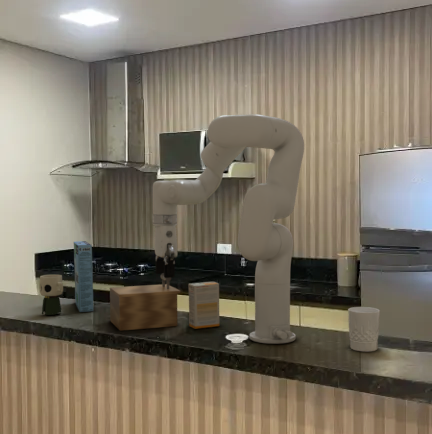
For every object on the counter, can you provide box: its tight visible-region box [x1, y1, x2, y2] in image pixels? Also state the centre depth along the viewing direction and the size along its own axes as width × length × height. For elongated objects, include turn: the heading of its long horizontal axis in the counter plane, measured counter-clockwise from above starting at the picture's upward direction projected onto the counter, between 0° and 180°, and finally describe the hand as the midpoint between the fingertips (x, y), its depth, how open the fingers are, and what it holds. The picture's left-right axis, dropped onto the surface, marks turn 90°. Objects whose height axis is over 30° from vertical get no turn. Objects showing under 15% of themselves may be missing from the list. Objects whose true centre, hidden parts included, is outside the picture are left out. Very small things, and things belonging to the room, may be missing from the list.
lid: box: [109, 273, 181, 297], centre depth 184 cm, size 19×15×5 cm
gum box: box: [73, 240, 94, 313], centre depth 212 cm, size 19×5×23 cm, turn 17°
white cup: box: [347, 306, 381, 353], centre depth 153 cm, size 8×8×10 cm
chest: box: [109, 289, 178, 332], centre depth 184 cm, size 18×15×10 cm
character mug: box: [39, 274, 64, 316], centre depth 199 cm, size 11×7×13 cm, turn 56°
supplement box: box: [188, 281, 221, 330], centre depth 180 cm, size 8×5×13 cm, turn 115°
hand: (164, 275), depth 187 cm, fingers open, 9 cm apart
